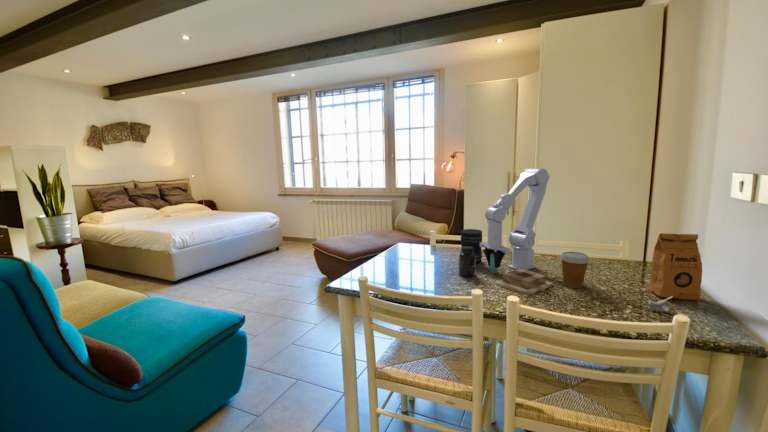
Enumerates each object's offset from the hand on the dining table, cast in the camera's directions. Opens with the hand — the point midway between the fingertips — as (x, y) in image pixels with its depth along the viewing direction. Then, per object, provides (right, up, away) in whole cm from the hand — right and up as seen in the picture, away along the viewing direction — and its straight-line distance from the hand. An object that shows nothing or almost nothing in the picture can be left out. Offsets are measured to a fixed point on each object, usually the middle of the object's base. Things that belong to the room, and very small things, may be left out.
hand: (493, 266), depth 146 cm
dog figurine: (+39, -8, -40) cm, 56 cm away
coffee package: (+52, -6, -29) cm, 60 cm away
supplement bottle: (-12, -3, -2) cm, 13 cm away
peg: (0, -2, 0) cm, 2 cm away
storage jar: (-6, 0, +15) cm, 16 cm away
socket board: (+7, -5, -15) cm, 17 cm away
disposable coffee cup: (+24, -5, -17) cm, 30 cm away
